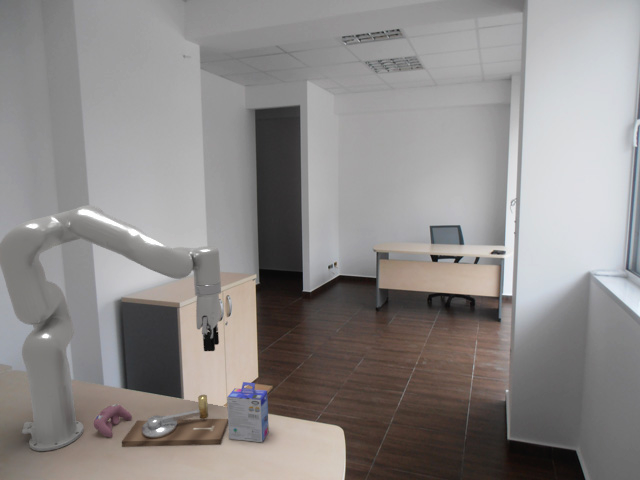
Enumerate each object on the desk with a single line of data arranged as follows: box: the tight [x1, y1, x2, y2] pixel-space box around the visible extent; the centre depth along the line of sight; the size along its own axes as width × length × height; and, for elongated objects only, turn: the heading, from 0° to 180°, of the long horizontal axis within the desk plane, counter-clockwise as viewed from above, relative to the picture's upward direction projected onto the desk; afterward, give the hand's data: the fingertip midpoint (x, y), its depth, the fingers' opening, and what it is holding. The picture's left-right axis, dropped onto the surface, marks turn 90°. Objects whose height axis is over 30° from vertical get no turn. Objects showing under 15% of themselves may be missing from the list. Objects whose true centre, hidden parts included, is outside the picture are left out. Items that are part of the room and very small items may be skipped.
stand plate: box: [121, 418, 229, 448], centre depth 115 cm, size 26×10×2 cm, turn 90°
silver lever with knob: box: [142, 394, 209, 438], centre depth 116 cm, size 18×9×7 cm, turn 110°
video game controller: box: [93, 403, 133, 438], centre depth 118 cm, size 10×5×7 cm, turn 169°
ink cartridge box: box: [226, 381, 270, 443], centre depth 113 cm, size 10×6×14 cm, turn 78°
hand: (211, 346), depth 126 cm, fingers open, 4 cm apart
